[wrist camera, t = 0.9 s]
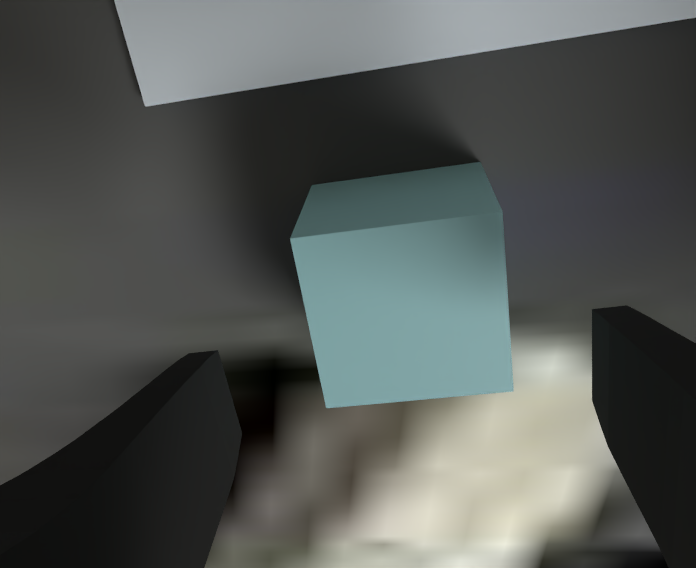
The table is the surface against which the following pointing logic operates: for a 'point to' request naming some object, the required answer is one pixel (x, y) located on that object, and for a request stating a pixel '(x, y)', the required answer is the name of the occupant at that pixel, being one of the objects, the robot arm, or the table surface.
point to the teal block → (405, 286)
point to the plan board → (344, 36)
